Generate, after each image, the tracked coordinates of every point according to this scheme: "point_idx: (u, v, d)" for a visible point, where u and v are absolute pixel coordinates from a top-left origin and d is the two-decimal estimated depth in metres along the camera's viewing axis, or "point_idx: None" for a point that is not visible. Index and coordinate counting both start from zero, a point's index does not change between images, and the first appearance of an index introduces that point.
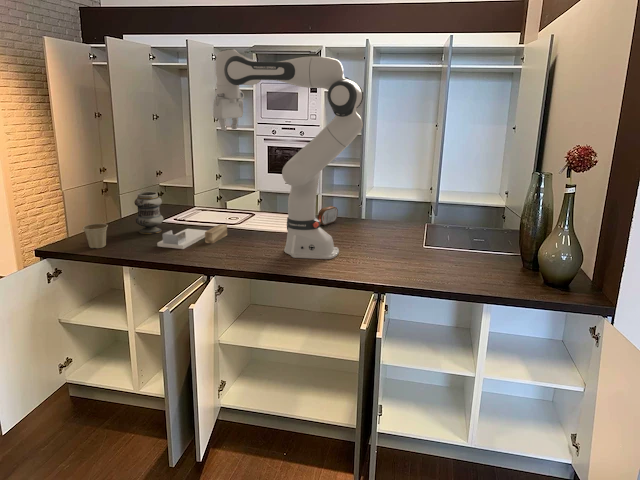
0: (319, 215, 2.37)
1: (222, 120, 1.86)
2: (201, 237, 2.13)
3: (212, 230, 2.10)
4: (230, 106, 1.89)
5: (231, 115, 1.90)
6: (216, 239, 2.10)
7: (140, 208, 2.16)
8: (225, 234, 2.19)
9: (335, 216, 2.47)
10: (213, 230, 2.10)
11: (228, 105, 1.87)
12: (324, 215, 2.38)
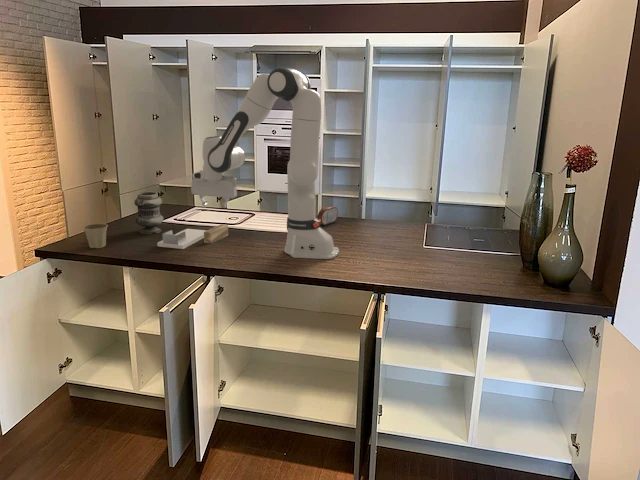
0: (319, 215, 2.37)
1: (228, 198, 2.08)
2: (201, 237, 2.13)
3: (211, 230, 2.10)
4: None
5: None
6: (215, 239, 2.10)
7: (140, 208, 2.16)
8: (226, 234, 2.18)
9: (335, 216, 2.47)
10: (212, 230, 2.10)
11: None
12: (324, 215, 2.38)
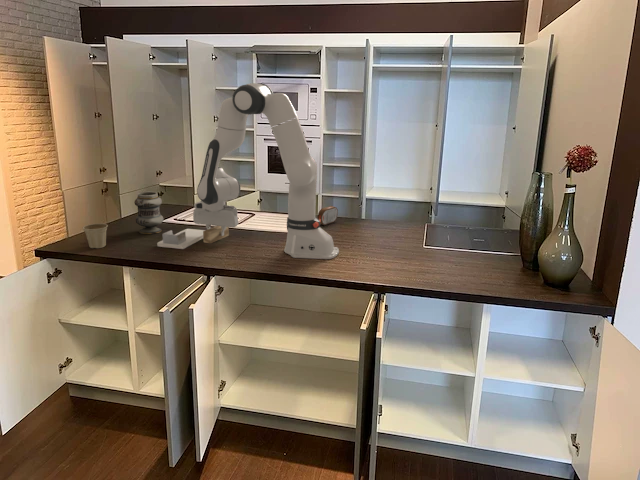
0: (319, 215, 2.37)
1: (225, 227, 2.12)
2: (201, 237, 2.13)
3: (211, 229, 2.10)
4: None
5: None
6: (215, 239, 2.10)
7: (140, 208, 2.16)
8: (226, 234, 2.18)
9: (335, 216, 2.47)
10: (212, 230, 2.10)
11: None
12: (324, 215, 2.38)
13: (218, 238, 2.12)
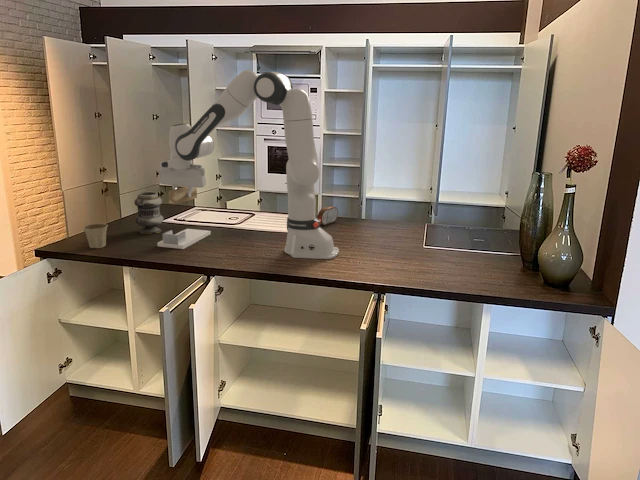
0: (319, 215, 2.37)
1: (192, 187, 2.03)
2: (201, 237, 2.13)
3: (177, 190, 2.01)
4: None
5: None
6: (181, 199, 2.01)
7: (140, 208, 2.16)
8: (194, 196, 2.09)
9: (335, 216, 2.47)
10: (178, 190, 2.01)
11: None
12: (324, 215, 2.38)
13: (185, 199, 2.03)
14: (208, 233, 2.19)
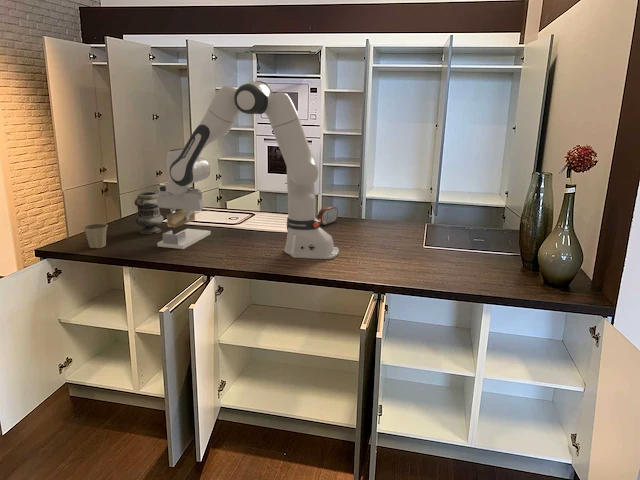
0: (319, 215, 2.37)
1: (190, 211, 2.05)
2: (201, 237, 2.13)
3: (175, 213, 2.03)
4: None
5: None
6: (179, 223, 2.03)
7: (140, 208, 2.16)
8: (192, 218, 2.11)
9: (335, 216, 2.47)
10: (176, 213, 2.03)
11: None
12: (324, 215, 2.38)
13: (183, 222, 2.06)
14: (208, 233, 2.19)
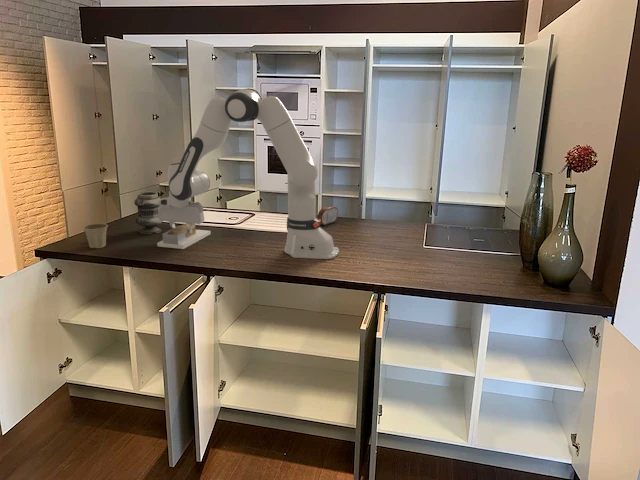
0: (319, 215, 2.37)
1: (193, 224, 2.06)
2: (201, 237, 2.13)
3: (177, 228, 2.05)
4: None
5: None
6: None
7: (140, 208, 2.16)
8: (193, 233, 2.13)
9: (335, 216, 2.47)
10: (178, 228, 2.05)
11: None
12: (324, 215, 2.38)
13: None
14: (208, 233, 2.19)
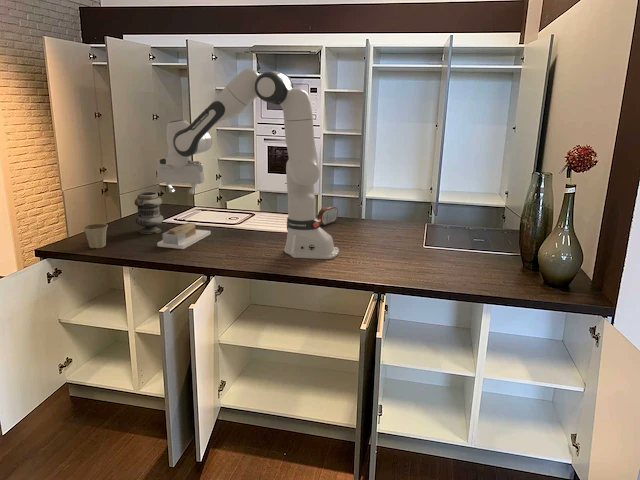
0: (319, 215, 2.37)
1: (195, 184, 2.02)
2: (201, 237, 2.13)
3: (177, 228, 2.05)
4: None
5: None
6: None
7: (140, 208, 2.16)
8: (193, 233, 2.13)
9: (335, 216, 2.47)
10: (178, 228, 2.05)
11: None
12: (324, 215, 2.38)
13: None
14: (208, 233, 2.19)
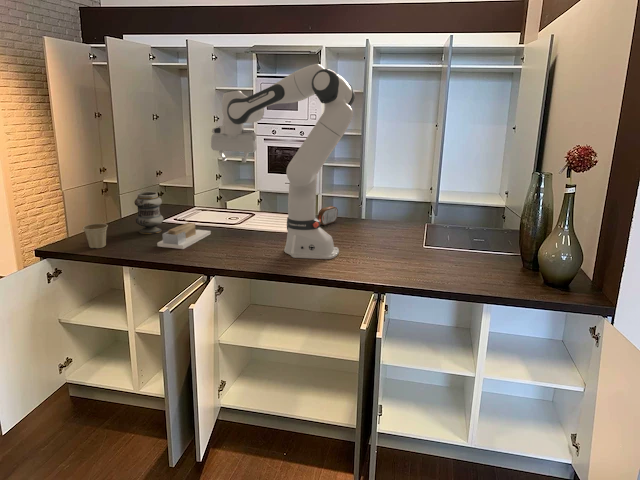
0: (319, 215, 2.37)
1: (248, 153, 2.10)
2: (201, 237, 2.13)
3: (177, 228, 2.05)
4: None
5: None
6: None
7: (140, 208, 2.16)
8: (193, 233, 2.13)
9: (335, 216, 2.47)
10: (178, 228, 2.05)
11: None
12: (324, 215, 2.38)
13: None
14: (208, 233, 2.19)
